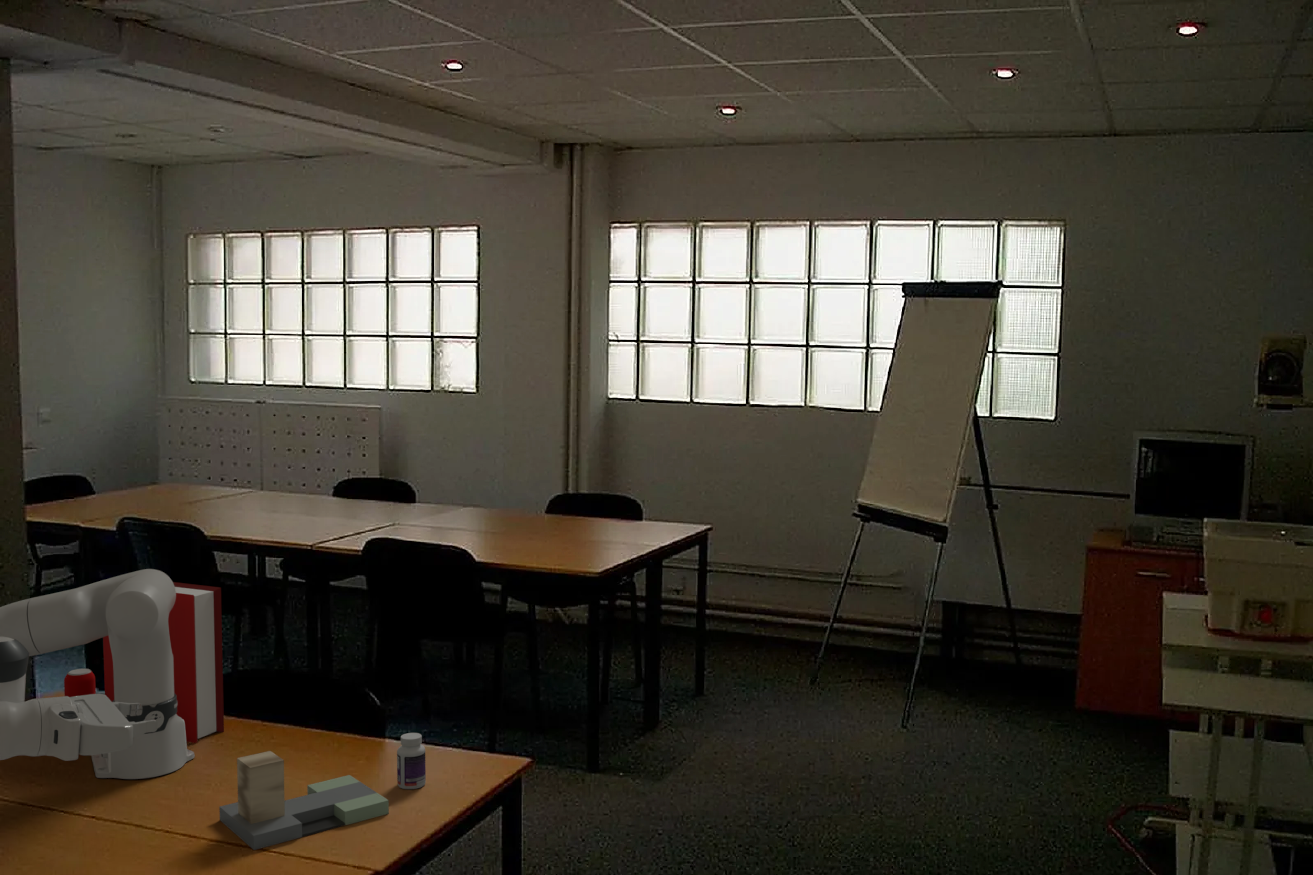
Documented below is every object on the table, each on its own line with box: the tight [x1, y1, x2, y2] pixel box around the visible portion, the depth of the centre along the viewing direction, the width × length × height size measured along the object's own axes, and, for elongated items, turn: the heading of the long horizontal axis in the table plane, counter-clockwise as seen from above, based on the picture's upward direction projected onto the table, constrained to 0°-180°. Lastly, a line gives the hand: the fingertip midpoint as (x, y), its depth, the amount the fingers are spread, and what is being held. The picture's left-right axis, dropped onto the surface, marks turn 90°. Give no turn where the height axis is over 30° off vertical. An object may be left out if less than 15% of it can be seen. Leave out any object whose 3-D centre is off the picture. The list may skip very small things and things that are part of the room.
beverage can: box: [63, 668, 97, 697], centre depth 266 cm, size 6×6×12 cm
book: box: [102, 581, 225, 744], centre depth 262 cm, size 27×8×32 cm, turn 67°
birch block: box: [236, 750, 285, 824], centre depth 211 cm, size 6×6×10 cm
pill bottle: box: [396, 732, 427, 790], centre depth 232 cm, size 5×5×10 cm
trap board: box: [218, 774, 390, 851], centre depth 217 cm, size 16×25×2 cm, turn 130°
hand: (148, 716), depth 198 cm, fingers open, 8 cm apart
